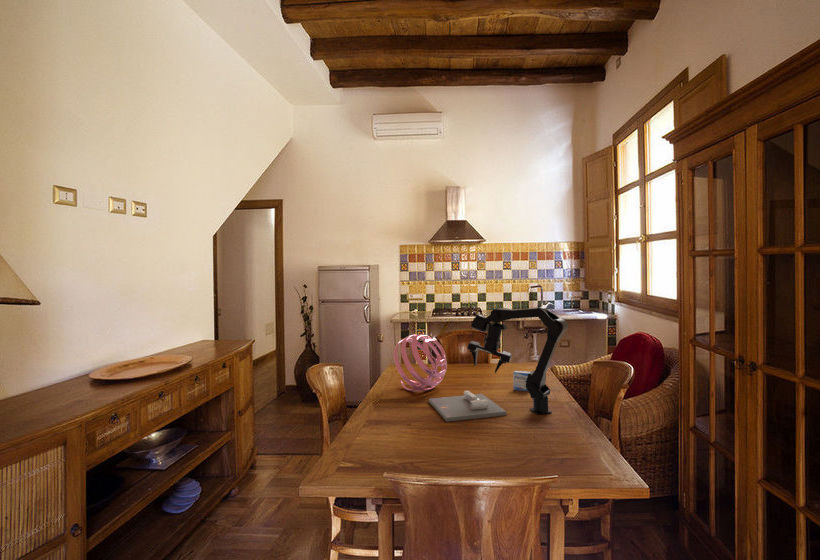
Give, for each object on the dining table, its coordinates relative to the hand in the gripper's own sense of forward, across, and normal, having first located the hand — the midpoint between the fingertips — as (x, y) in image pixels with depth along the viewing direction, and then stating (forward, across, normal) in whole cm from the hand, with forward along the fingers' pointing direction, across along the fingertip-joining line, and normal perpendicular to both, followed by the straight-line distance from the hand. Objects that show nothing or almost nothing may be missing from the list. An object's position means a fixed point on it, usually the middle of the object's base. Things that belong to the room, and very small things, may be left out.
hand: (485, 369), depth 187 cm
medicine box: (+12, -16, -22) cm, 30 cm away
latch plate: (+14, +2, +13) cm, 19 cm away
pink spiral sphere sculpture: (+23, +28, -7) cm, 37 cm away
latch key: (+12, 0, +10) cm, 16 cm away
